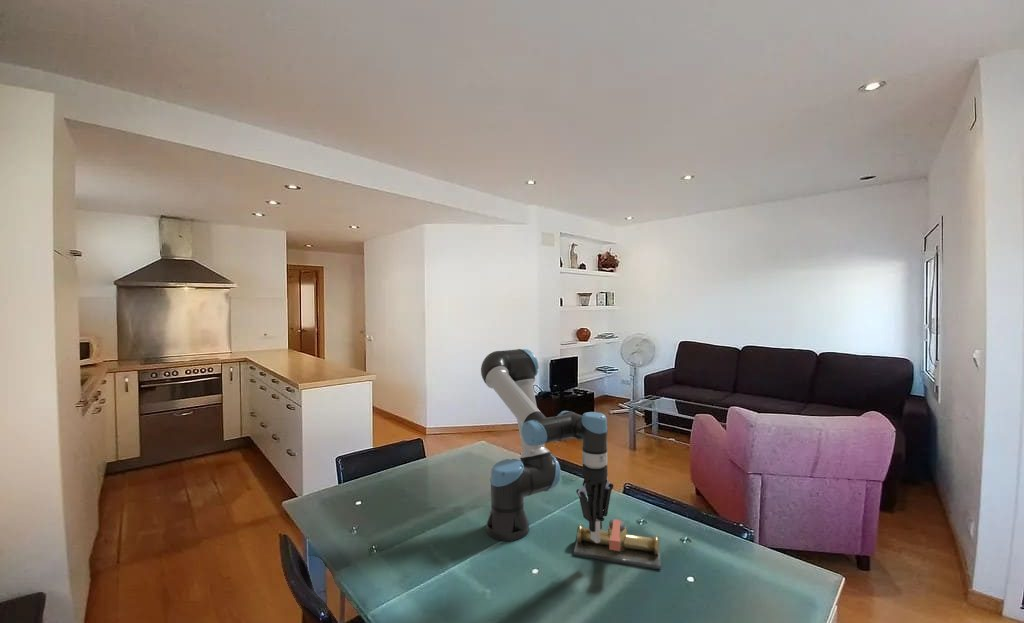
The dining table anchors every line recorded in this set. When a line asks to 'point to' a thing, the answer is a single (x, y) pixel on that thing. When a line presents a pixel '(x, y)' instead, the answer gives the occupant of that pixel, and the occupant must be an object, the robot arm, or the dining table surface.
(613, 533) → the lever
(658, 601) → the dining table surface
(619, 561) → the valve base
